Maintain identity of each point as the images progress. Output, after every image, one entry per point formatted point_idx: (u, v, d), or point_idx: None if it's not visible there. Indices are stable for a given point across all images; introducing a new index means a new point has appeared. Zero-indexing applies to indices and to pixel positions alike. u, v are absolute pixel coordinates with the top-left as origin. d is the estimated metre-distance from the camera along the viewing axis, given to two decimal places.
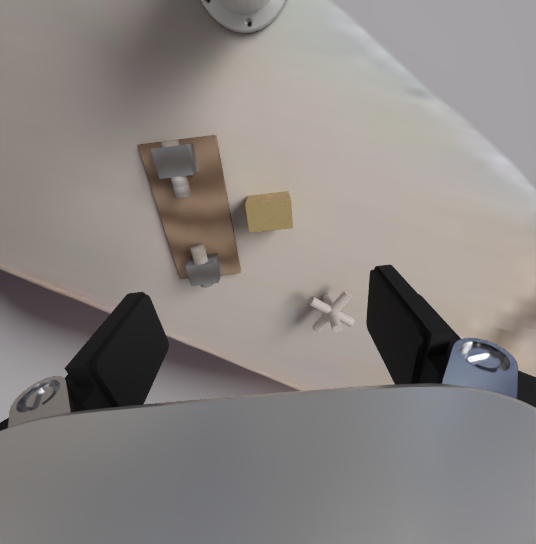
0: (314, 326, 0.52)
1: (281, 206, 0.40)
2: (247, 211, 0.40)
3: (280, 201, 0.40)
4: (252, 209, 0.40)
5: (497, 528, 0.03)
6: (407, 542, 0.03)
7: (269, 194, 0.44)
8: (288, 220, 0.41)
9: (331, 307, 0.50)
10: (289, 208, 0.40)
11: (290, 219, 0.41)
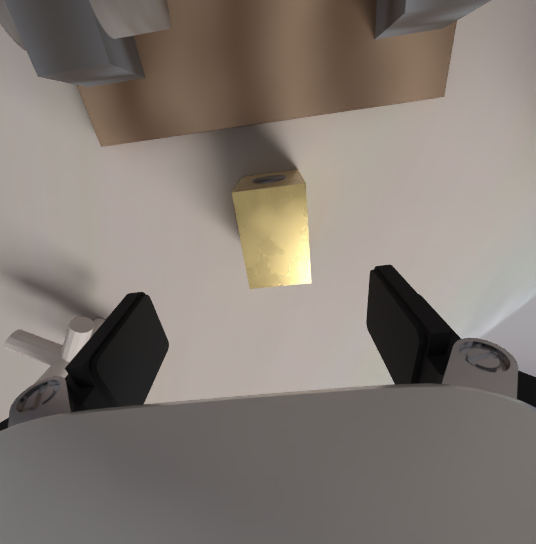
0: (16, 337, 0.23)
1: (297, 265, 0.18)
2: (288, 189, 0.16)
3: (308, 263, 0.18)
4: (292, 202, 0.16)
5: (497, 528, 0.03)
6: (407, 542, 0.03)
7: None
8: (265, 280, 0.19)
9: None
10: (292, 281, 0.19)
11: (268, 283, 0.19)
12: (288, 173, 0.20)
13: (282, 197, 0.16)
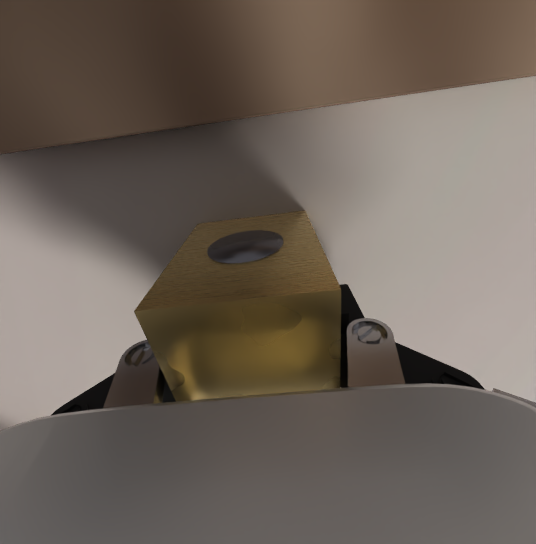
0: None
1: None
2: (291, 303, 0.06)
3: None
4: (304, 330, 0.06)
5: (497, 528, 0.03)
6: (407, 542, 0.03)
7: None
8: None
9: None
10: None
11: None
12: (287, 224, 0.09)
13: (275, 321, 0.06)
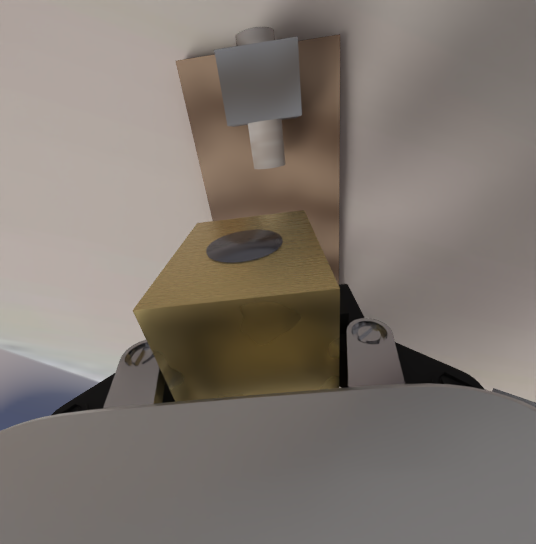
0: None
1: None
2: (290, 302, 0.06)
3: None
4: (302, 329, 0.06)
5: (497, 528, 0.03)
6: (407, 542, 0.03)
7: None
8: None
9: None
10: None
11: None
12: (286, 224, 0.09)
13: (274, 320, 0.06)
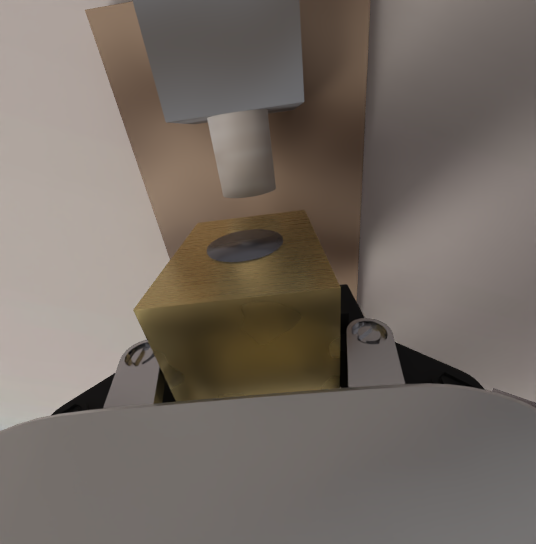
0: None
1: None
2: (291, 301, 0.06)
3: None
4: (303, 329, 0.06)
5: (497, 528, 0.03)
6: (407, 542, 0.03)
7: None
8: None
9: None
10: None
11: None
12: (287, 223, 0.09)
13: (275, 319, 0.06)
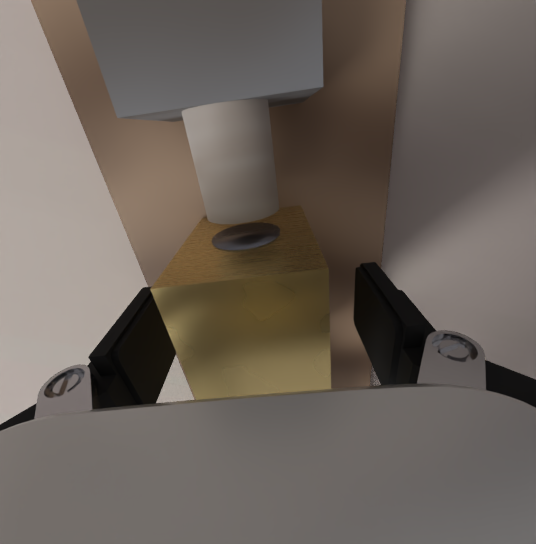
0: None
1: None
2: (286, 281, 0.06)
3: None
4: (297, 306, 0.07)
5: (497, 528, 0.03)
6: (407, 542, 0.03)
7: None
8: None
9: None
10: None
11: None
12: (284, 217, 0.10)
13: (272, 297, 0.07)
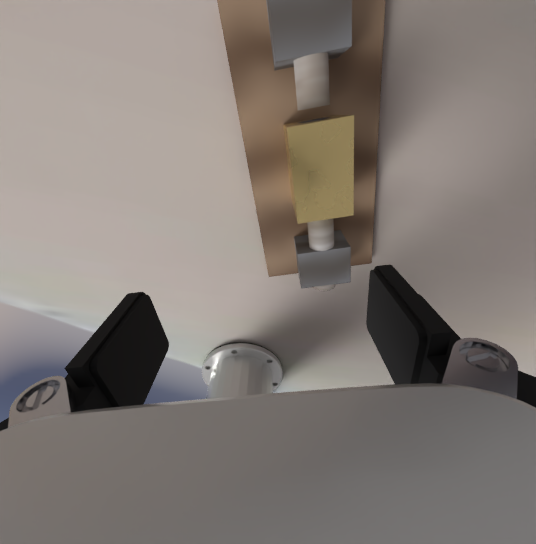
0: None
1: (342, 198, 0.20)
2: (338, 121, 0.18)
3: (351, 195, 0.20)
4: (341, 134, 0.18)
5: (497, 528, 0.03)
6: (407, 542, 0.03)
7: None
8: (312, 214, 0.21)
9: None
10: (336, 214, 0.21)
11: (315, 218, 0.21)
12: (328, 116, 0.21)
13: (332, 130, 0.18)
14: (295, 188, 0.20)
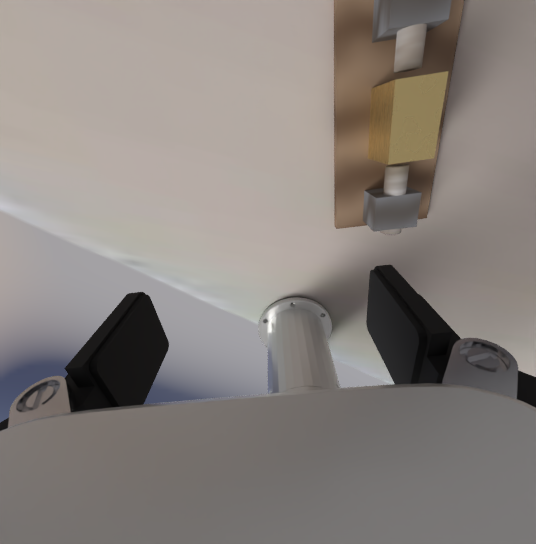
0: None
1: (427, 142, 0.25)
2: (435, 76, 0.23)
3: (435, 140, 0.25)
4: (436, 86, 0.23)
5: (497, 528, 0.03)
6: (407, 542, 0.03)
7: None
8: (401, 156, 0.26)
9: None
10: (421, 156, 0.26)
11: (403, 159, 0.26)
12: None
13: (429, 83, 0.23)
14: (392, 132, 0.25)
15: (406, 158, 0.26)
